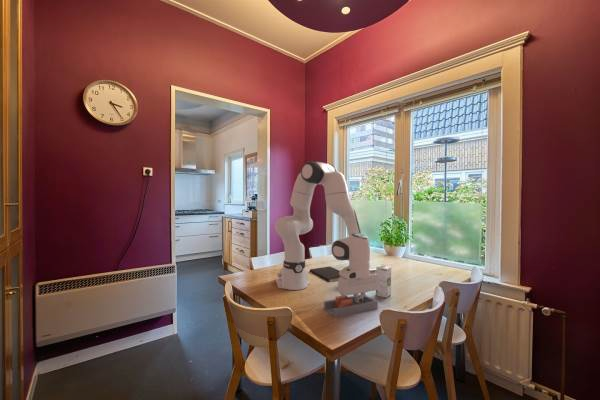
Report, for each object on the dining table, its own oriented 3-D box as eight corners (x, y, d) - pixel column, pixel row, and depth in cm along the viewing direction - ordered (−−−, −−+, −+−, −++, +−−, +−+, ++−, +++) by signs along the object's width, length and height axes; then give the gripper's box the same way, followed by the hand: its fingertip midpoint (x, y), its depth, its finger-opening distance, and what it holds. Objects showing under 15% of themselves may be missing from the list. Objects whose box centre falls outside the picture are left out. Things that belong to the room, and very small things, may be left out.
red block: (335, 308, 108) (335, 296, 108) (345, 306, 110) (345, 295, 110) (341, 313, 103) (341, 301, 103) (351, 311, 106) (352, 299, 105)
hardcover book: (329, 269, 173) (329, 266, 173) (350, 279, 153) (350, 275, 153) (309, 272, 166) (309, 269, 166) (328, 283, 145) (328, 279, 145)
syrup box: (379, 292, 130) (380, 264, 130) (391, 295, 126) (391, 266, 126) (375, 295, 125) (375, 266, 125) (387, 298, 122) (387, 268, 122)
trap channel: (323, 310, 108) (323, 301, 108) (363, 302, 117) (363, 293, 117) (335, 320, 100) (335, 309, 100) (377, 310, 108) (377, 301, 108)
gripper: (373, 266, 117) (373, 296, 117) (335, 271, 109) (335, 303, 109) (382, 270, 111) (382, 301, 111) (344, 275, 103) (344, 309, 103)
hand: (359, 302), depth 110 cm, fingers closed
